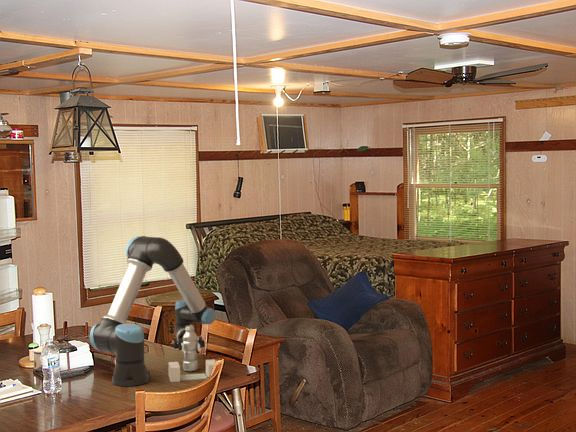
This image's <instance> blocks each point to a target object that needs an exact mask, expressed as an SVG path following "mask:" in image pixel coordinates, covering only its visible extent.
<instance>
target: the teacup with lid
mask: <svg viewBox="0 0 576 432" xmlns="http://www.w3.org/2000/svg"><path fill="white" fill-rule="evenodd" d="M44 344H45V343H41V344H40V345H41V346H38V347H37V348H34V349H33V351H32V352H33V370H34V369H37V368H39V367H41V350H42V347H43V346H44Z"/></svg>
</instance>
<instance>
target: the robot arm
mask: <svg viewBox="0 0 576 432" xmlns="http://www.w3.org/2000/svg"><path fill="white" fill-rule="evenodd" d="M125 252H126V255H125V256H126V257H127V258H126V263H127V267H126V269H125V272H124V274H123V276H122V279H121V282H120V284H119V286H118V288H117V290H116V293H115V296H114V298H113V300H112V303H111V305H110V307H109V310H108V312H107V314H106V315H104V316H102V317H101V319H100V322H99V323H96V324H95V325H93V326H92V327H91V330H90V332H89V342H90V345H91V346H92V348H93V349H95V350H97V351H99V352H101V353H108V354H113V355H115V366H114V370H113V375H112V377H111V383H112V385H114V386H119V387H134V386H140V385H144V384H147V383H149V381H150V379H149V377H150V375H149V373H148V369H147V366H146V364H145V334H144V333H145V332H144V329H143V327H141V326H140V325H137V324H134V323H127V322H128V321H127V320H128V318H129V315H130V313H131V311H132V308H133V306H134V303H135V301H136V299H137V296H138V293H139V291H140V289H141V286H142V284H143V281H144V279H145V276H146V274H147V273H148V272H150V271H152V269H153V266H154V264H156V265H159V266H160V267H161V268H162V270H163V271H164V272H166V273H168V275H169V276H170V278H171V280H172V282H173V283H174V285H175V287H176V288H177V290H178V292H179V293H180V295H181V297H182V299H180V300H177V301H175V307H174V308H175V309H174V317H175V326H174V327H175V328H174V336H175V338H172V339H171V340H172V345H173V347H174V348H173V349H174V350H176V349H178V351H182V353H184V352H185V350H184V344H183V335H184V334H185V332H186V330H185V329H186V328H185V326H187V325H192V323H195V324H202V325H212V324H213V323H214V322H215V320H216V316H217V314H216V311H215V309H213V308H211V307H209V306H208V305H207V304H206V302H205V300H204V299H203V297H202V295H201V293H200V292H199V289H198V288H197V286H196V284H195V282H194V281H193V279H192V278H191V277H192V276H190V274H189V272H188V270H187V268H186V267H185V265H184V258H183V257H182V255H181V254H180V252H179V251H178V249H177V248H176V247H175V246H174V245H173V243H171V242H170V241H169V240H167V239H166V238H164V237H161V236H160V237H158V236H157V237H154V236H145V235H141V236H140V235H139V236H136V237H132V238H131V239H130V240H129V241H128V242H127V245H126V247H125ZM205 344H206V343H205V340H204V339H203V337H202V336H200V337H198V339H197V348H196V351H198V352H201V349H202V348H205V347H206V345H205Z"/></svg>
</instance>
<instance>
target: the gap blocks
mask: <svg viewBox="0 0 576 432" xmlns="http://www.w3.org/2000/svg"><path fill="white" fill-rule="evenodd" d="M215 361H216V359H215V358H213V359H205V375H206V376H207V378H208V377H209V376H210V375H211V372H212V368H213V366H214V363H215ZM167 364H168V378H169V382H170V383H177V382H178V383H179V382H181V379H180V375H181V365H180V362H178V361H168V363H167Z"/></svg>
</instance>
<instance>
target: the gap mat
mask: <svg viewBox="0 0 576 432" xmlns="http://www.w3.org/2000/svg"><path fill="white" fill-rule="evenodd" d="M207 379H208V377H207V375H206V372H204V373H191V374H189V373H188V374H187V373H186V374H180V382H181V381H182V382H184V381H198V380H207Z"/></svg>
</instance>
